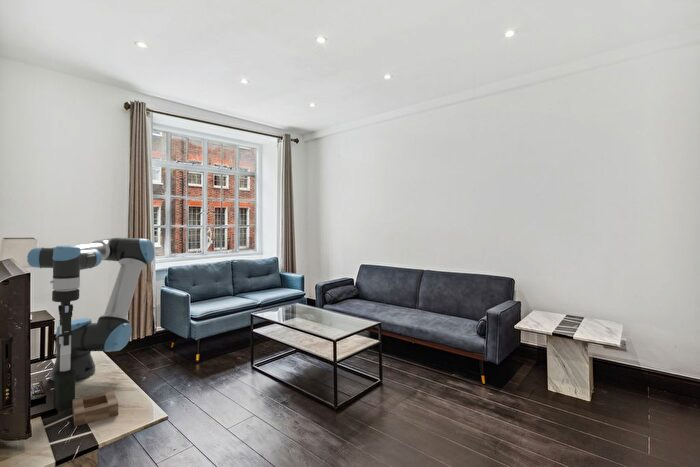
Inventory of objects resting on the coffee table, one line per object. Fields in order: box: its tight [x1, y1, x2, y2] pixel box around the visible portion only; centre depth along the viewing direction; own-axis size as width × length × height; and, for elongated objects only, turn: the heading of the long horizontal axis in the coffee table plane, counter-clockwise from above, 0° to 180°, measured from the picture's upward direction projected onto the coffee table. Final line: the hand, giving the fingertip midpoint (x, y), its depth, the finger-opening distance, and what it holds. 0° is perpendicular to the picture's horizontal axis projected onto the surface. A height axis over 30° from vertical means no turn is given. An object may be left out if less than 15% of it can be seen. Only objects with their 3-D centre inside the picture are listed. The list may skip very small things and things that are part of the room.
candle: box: [53, 347, 76, 412], centre depth 125 cm, size 5×5×25 cm
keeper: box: [71, 389, 119, 427], centre depth 123 cm, size 12×12×4 cm
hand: (64, 348), depth 125 cm, fingers open, 13 cm apart
